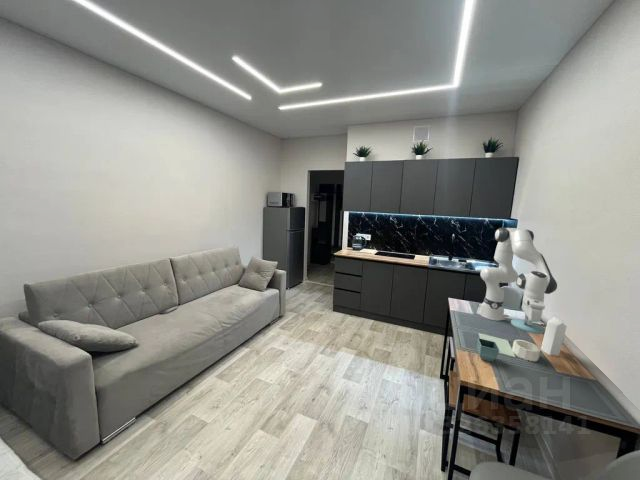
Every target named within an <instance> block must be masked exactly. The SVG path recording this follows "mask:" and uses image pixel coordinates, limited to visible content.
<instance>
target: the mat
mask: <svg viewBox="0 0 640 480" xmlns="http://www.w3.org/2000/svg"><path fill="white" fill-rule="evenodd" d="M478 338H480V339H484V340H489V341H493V342H495V343H496V344H497V346H498V348H499V353H498V355H499V354H500V355H503V356H507V357H509V358H510V357H511V358H514V359H516V358H517V357H516V355H515V354H514V352H513V350H512V346H511V345H510V342H509V340H508V339H504V338H499V337H496V336H492V335H488V334H485V333H480V332H478Z"/></svg>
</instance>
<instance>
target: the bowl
mask: <svg viewBox="0 0 640 480" xmlns="http://www.w3.org/2000/svg"><path fill="white" fill-rule="evenodd" d="M511 348H512V350H513V352H514V355H515V356H517V357H518V358H520V359H522V358H523V360H525V361H528V360H529V361H530V362H538V361H539V359H540V356H541V351H542V350H541V348H540V347H539V346H538V345H536V344H534V343H533V342H530V341H527V340H525V339H523V340H522V339H515V340H513V343H512V346H511ZM529 361H528V362H529Z"/></svg>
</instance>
